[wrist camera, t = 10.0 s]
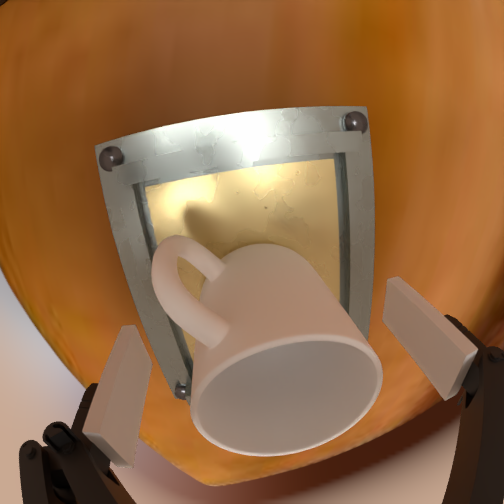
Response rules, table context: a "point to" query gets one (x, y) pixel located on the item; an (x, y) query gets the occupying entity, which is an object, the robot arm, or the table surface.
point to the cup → (267, 349)
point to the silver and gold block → (243, 206)
